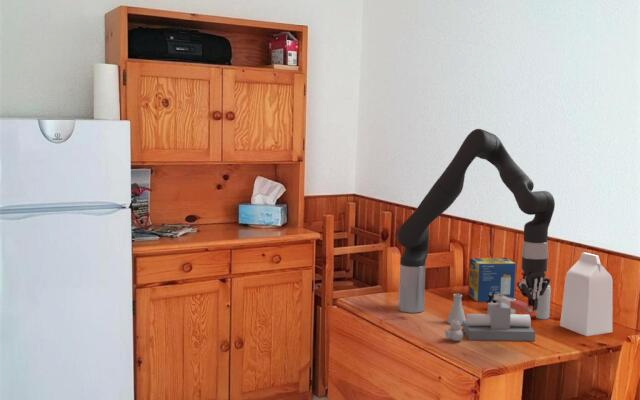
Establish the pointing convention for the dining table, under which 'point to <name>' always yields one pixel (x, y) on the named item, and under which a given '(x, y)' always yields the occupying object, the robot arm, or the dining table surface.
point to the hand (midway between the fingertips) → (532, 309)
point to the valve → (496, 302)
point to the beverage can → (544, 305)
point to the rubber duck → (454, 331)
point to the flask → (457, 310)
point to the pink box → (514, 304)
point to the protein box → (491, 278)
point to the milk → (587, 297)
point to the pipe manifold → (499, 325)
